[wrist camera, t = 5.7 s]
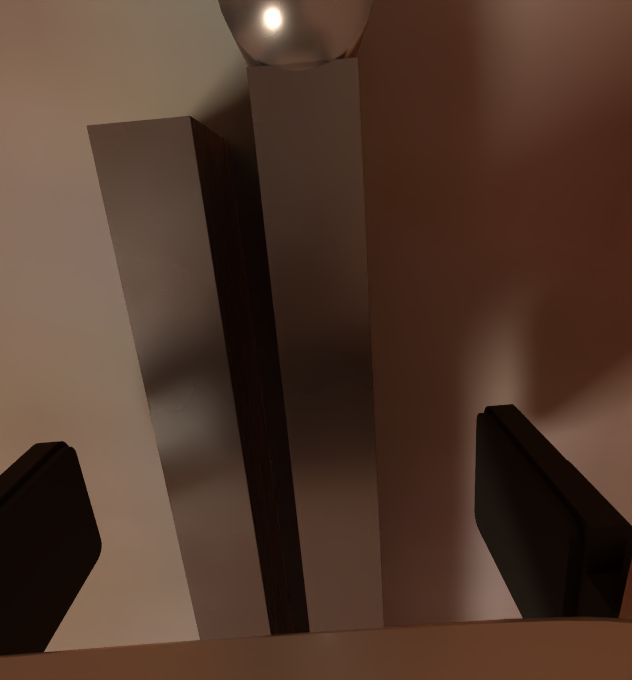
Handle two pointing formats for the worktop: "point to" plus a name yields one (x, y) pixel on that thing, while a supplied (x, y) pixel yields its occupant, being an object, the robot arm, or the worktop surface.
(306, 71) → the tongs moving arm
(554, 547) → the robot arm
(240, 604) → the arm
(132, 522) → the worktop surface
